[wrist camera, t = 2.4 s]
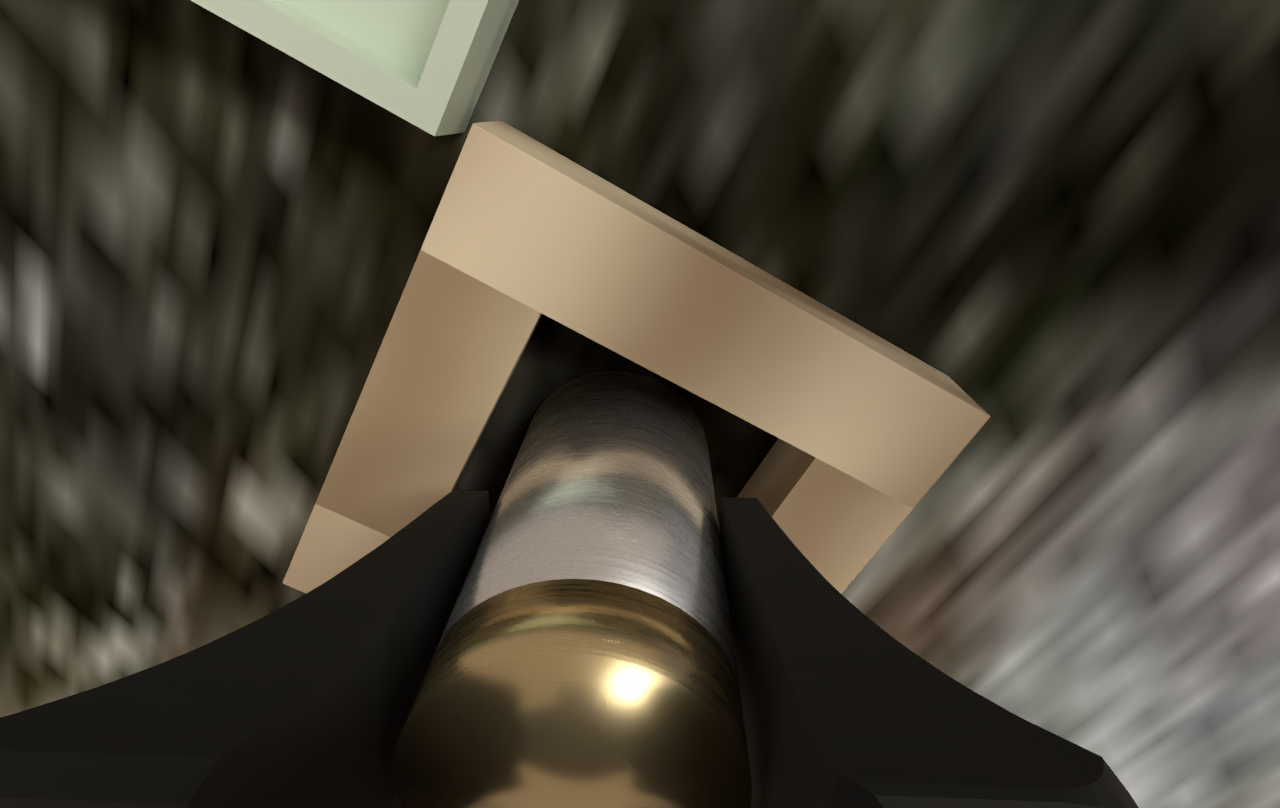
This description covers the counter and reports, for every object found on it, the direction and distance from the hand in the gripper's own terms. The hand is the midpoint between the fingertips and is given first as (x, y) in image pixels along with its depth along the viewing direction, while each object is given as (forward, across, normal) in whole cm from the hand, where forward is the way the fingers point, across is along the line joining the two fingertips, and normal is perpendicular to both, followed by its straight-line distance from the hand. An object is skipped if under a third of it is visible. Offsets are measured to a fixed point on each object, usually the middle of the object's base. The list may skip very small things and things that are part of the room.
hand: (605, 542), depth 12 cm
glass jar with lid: (+3, 0, 0) cm, 3 cm away
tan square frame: (+3, 0, 0) cm, 3 cm away
